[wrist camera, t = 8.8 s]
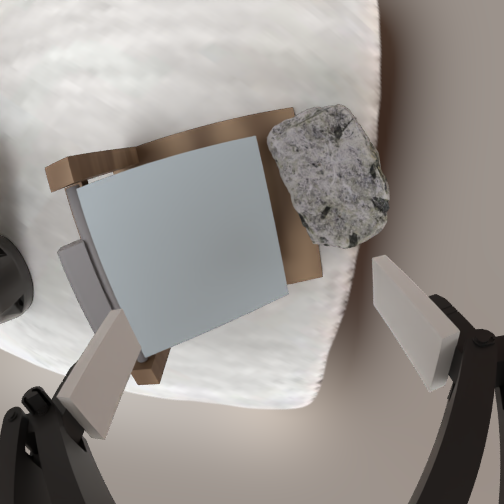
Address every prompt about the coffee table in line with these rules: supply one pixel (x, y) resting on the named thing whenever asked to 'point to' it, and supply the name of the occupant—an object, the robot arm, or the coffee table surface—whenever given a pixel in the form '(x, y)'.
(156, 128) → the coffee table surface
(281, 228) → the frame
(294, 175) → the rock
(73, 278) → the trapdoor
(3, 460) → the robot arm
